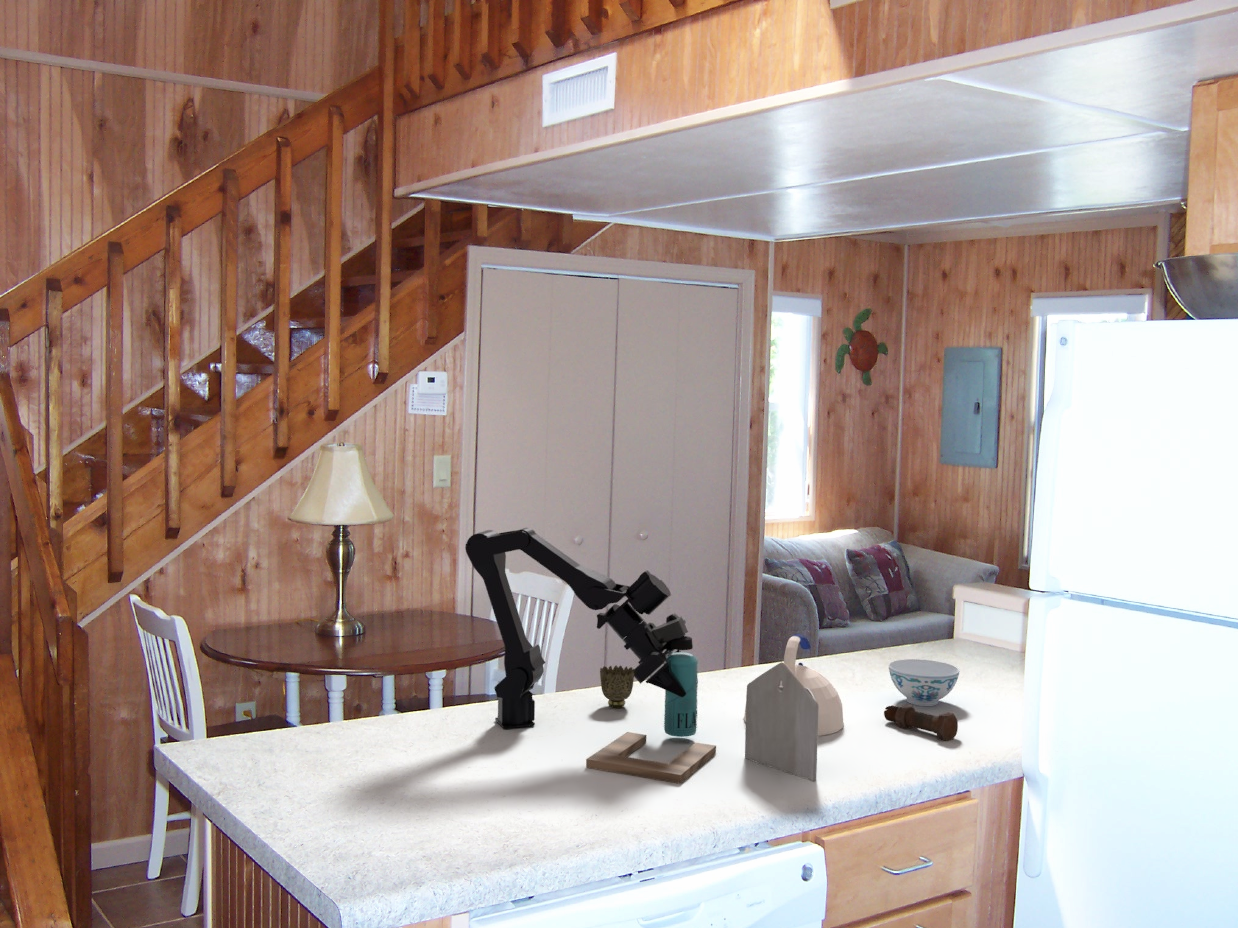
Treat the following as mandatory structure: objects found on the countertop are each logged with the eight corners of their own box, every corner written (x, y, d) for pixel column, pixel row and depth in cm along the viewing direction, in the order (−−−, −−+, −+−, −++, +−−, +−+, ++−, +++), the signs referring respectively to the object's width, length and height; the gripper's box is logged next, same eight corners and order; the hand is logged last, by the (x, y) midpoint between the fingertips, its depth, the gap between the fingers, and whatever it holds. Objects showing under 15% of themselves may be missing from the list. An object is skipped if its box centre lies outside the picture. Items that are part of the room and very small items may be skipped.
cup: (633, 711, 237) (634, 673, 236) (598, 710, 237) (599, 673, 236) (634, 701, 244) (634, 665, 244) (599, 700, 244) (600, 664, 244)
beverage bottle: (674, 746, 214) (676, 641, 213) (656, 736, 220) (658, 634, 219) (703, 742, 217) (705, 638, 216) (685, 732, 223) (688, 632, 222)
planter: (842, 772, 202) (845, 664, 200) (814, 781, 196) (817, 671, 195) (772, 749, 214) (774, 647, 213) (743, 757, 209) (746, 654, 207)
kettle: (731, 730, 226) (733, 640, 225) (758, 703, 245) (760, 621, 244) (832, 743, 218) (835, 651, 217) (852, 715, 237) (855, 630, 236)
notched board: (680, 783, 194) (680, 774, 194) (586, 767, 202) (586, 758, 202) (715, 753, 211) (715, 745, 211) (627, 739, 218) (627, 731, 218)
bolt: (890, 729, 234) (952, 746, 222) (876, 721, 231) (938, 737, 219) (899, 703, 236) (961, 718, 224) (885, 694, 233) (948, 709, 221)
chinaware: (966, 699, 251) (967, 665, 250) (946, 715, 238) (947, 679, 238) (900, 689, 259) (901, 655, 258) (877, 703, 246) (878, 668, 246)
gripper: (652, 611, 209) (710, 675, 207) (672, 594, 227) (726, 653, 225) (609, 650, 211) (666, 714, 209) (633, 630, 229) (686, 688, 227)
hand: (688, 690), depth 218 cm, fingers closed on beverage bottle, 6 cm apart
